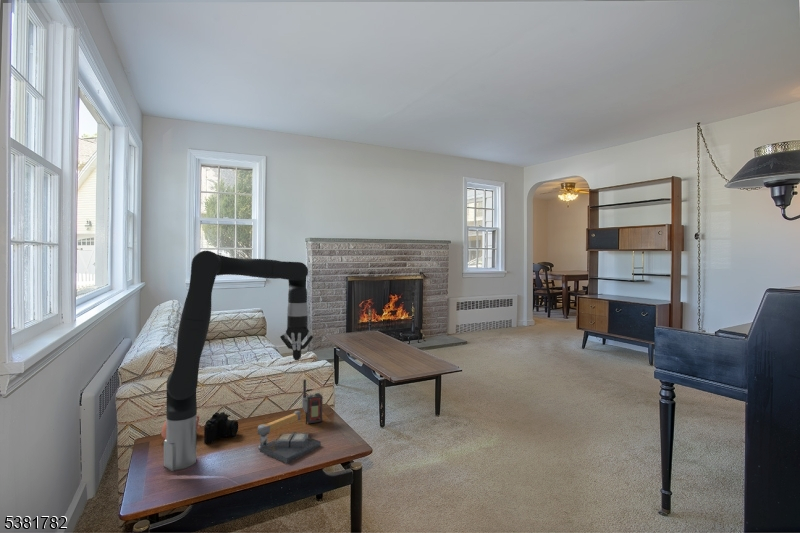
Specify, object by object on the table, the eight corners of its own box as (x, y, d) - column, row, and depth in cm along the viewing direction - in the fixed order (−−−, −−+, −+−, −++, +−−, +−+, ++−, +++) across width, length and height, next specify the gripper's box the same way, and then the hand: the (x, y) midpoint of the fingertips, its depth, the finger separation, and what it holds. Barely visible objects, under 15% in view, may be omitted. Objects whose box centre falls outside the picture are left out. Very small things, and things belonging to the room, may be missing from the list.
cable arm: (262, 436, 148) (262, 428, 148) (255, 433, 150) (255, 425, 150) (303, 419, 164) (303, 412, 164) (295, 416, 167) (295, 409, 167)
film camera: (225, 445, 152) (225, 422, 152) (200, 444, 153) (200, 421, 153) (243, 429, 167) (243, 408, 167) (220, 428, 168) (220, 407, 168)
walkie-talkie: (302, 427, 170) (302, 380, 170) (300, 423, 174) (301, 377, 174) (322, 424, 173) (323, 378, 173) (320, 420, 177) (321, 375, 177)
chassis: (286, 463, 139) (287, 451, 139) (260, 451, 147) (260, 440, 147) (320, 446, 152) (320, 435, 152) (294, 436, 160) (294, 426, 160)
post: (262, 450, 148) (262, 437, 148) (255, 447, 150) (255, 434, 150) (271, 446, 151) (271, 433, 151) (264, 444, 154) (264, 431, 154)
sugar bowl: (165, 432, 163) (165, 407, 163) (203, 428, 168) (203, 404, 168) (157, 445, 152) (157, 418, 152) (198, 440, 156) (198, 414, 156)
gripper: (277, 315, 148) (276, 362, 148) (312, 315, 148) (312, 362, 148) (283, 313, 156) (282, 357, 156) (316, 313, 156) (316, 357, 156)
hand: (297, 359), depth 152 cm, fingers closed
